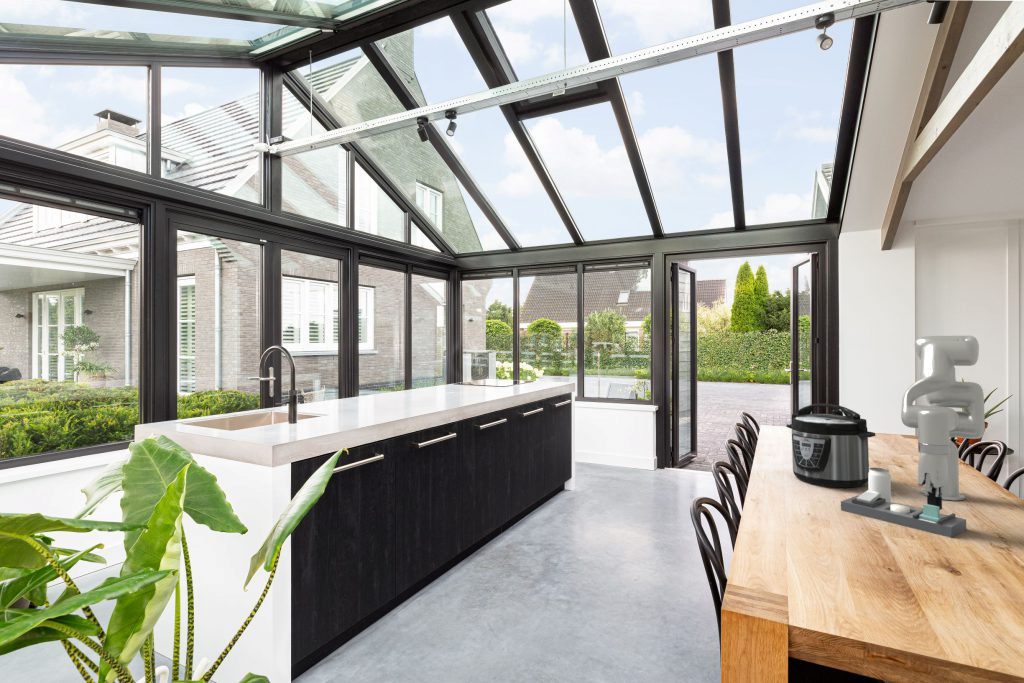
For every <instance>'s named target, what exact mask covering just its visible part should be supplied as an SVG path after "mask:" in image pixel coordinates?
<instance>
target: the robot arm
mask: <svg viewBox="0 0 1024 683" xmlns="http://www.w3.org/2000/svg"><path fill="white" fill-rule="evenodd" d="M914 350H915V352H916V354H917V356H918V358H919V360H920V373H919V376H920V377H919V379H918V380H916V381H915V382H914V383H912V384H911V385H910V386H909V387H908V388H907V389H906V391H905V392H904V393H903V396H902V401H901V411H900V418H901V421H902V424H903V425H904V426H905V427H907V428H911V429H917V442H918V443H917V445H918V448H917V449H918V451H917V452H918V454H919V457H918V466H917V484H918V486H921V487H922V486H924V487H923V488H921V489H920V491H919V492H920V494H921V495H923V496H926V500H927V501H926V504H929V505H934V506H939V507H940V511H941V510H942V509H943V500H945V501H963V500H965V497H966V496H965V494H963V493H962V492H960V478H959V477H960V473H959V472H960V471H959V470H960V469H959V468H960V467H959V466H960V463H959V460H960V459H959V454H960V453H959V448H958V447H957V444H955V443H954V442H953V441H952V440H951V439H950V438H961V439H970V440H972V439H973V440H976V439H977V440H978V439H981V438H983V437H984V435H985V431H986V430H985V429H986V426H985V423H986V421H985V420H986V419H985V395H984V390H983V387H982V385H980V384H979V383H977V382H973V381H957V380H956V368H955V366H956V367H957V366H958V367H964V366H965V367H971V366H974V365H976V364H977V362H978V360H979V352H980V344H979V340H978V339H977V338H976V337H975V336H973V335H927V336H920V337H918V338H917V339H915V341H914ZM923 396H925V397H926V401H927V403H928V405H919V404H914V401H916V400H917V399H919V398H920V397H923ZM954 408H957V409H965V410H966V411H962V410H961V411H959V410H958V411H957V410H955V409H954Z"/></svg>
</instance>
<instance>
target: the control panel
mask: <svg viewBox="0 0 1024 683" xmlns="http://www.w3.org/2000/svg"><path fill="white" fill-rule="evenodd" d="M859 496H860V495H855V496H852V497H850V498H846V499H843V500H841V501H840V510H841V511H843V512H845V513H846V512H847V513H851V514H855V515H859V516H863V517H868V518H871V519H876V520H880V521H883V522H887V523H890V524H891V523H892V524H895V525H898V526H902V527H908V528H911V529H915V530H919V531H922V532H928V533H931V534H936V535H940V536H943V537H947V538H951V539H952V538H953V537H955V536H956V535H959V534H960V533H962V532H963V531H964V532H965V530H967V519H966V518H961V517H958V516H957V517H956V513H954V512H952V513H951V514H949V515H948V514H944V513H940V516H941V517H944V518H942V519H940V520H938V522H935V521H931V520H927V519H922V518H919V515H921V514H923V508H922V509H921V508H916V507H913V506H908V507H909V508H910V514H908V515H907V514H903V513H899V512H894V511H890V505H892V504H896V503H894V502H891V503H890V502H886V499H884V498H878V499H877V500H875V501H874V502H873V503H867V502H862V501H858V500H857V499H856V498H857V497H859Z"/></svg>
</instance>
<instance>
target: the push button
mask: <svg viewBox="0 0 1024 683" xmlns="http://www.w3.org/2000/svg"><path fill="white" fill-rule="evenodd" d="M909 507H910V506H908V505H903V504H899V503H895V504H892V505H890V511H894V512H899V513H903V514H907V515H908V514H910V508H909Z"/></svg>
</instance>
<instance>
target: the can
mask: <svg viewBox="0 0 1024 683" xmlns="http://www.w3.org/2000/svg"><path fill="white" fill-rule="evenodd" d="M891 477H892V476H891V473H890V469H887V468H884V467H883V468H882V467H869V473H868V482H867V484H868V490H870V491H875V492H879V493H881V497H879V498H884V499H886V502H890V503H892V485H891Z"/></svg>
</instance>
